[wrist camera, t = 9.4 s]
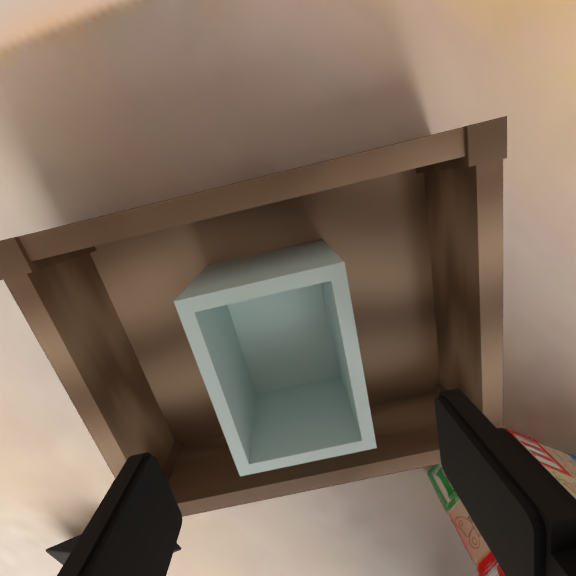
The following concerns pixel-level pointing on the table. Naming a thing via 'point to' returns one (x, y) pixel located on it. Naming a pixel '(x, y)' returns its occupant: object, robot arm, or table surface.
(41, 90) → the table surface
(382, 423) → the big crate
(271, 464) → the small crate
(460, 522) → the stack of blocks
